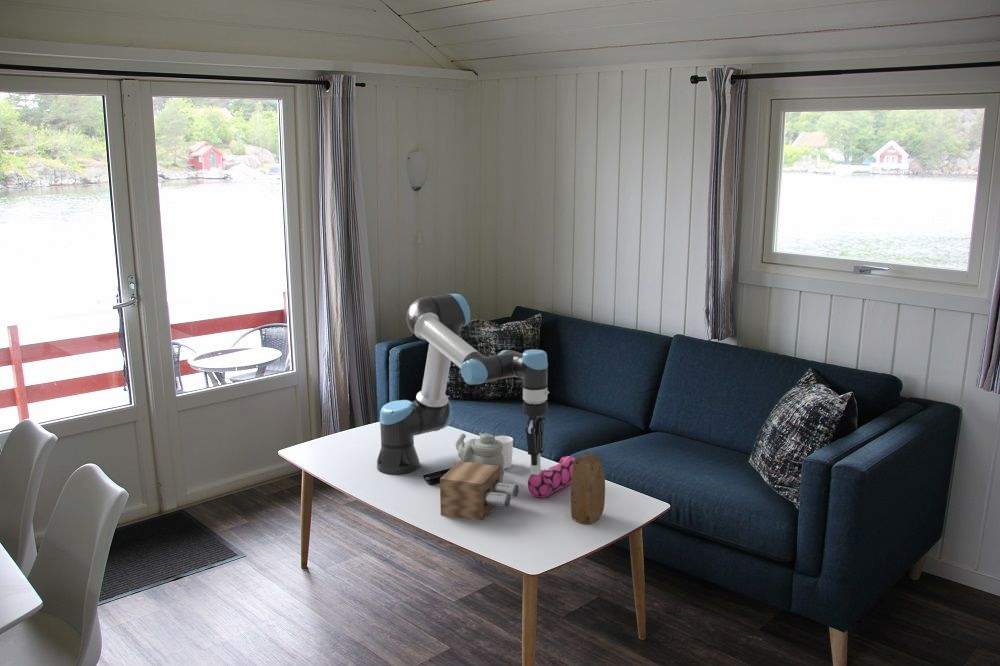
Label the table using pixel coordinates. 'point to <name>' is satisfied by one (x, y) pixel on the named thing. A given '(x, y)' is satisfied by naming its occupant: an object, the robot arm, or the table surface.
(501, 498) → the near peg
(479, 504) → the walnut block
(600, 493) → the block
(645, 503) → the table surface
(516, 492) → the far peg
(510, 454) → the white cup
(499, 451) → the teapot
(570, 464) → the pencil case
